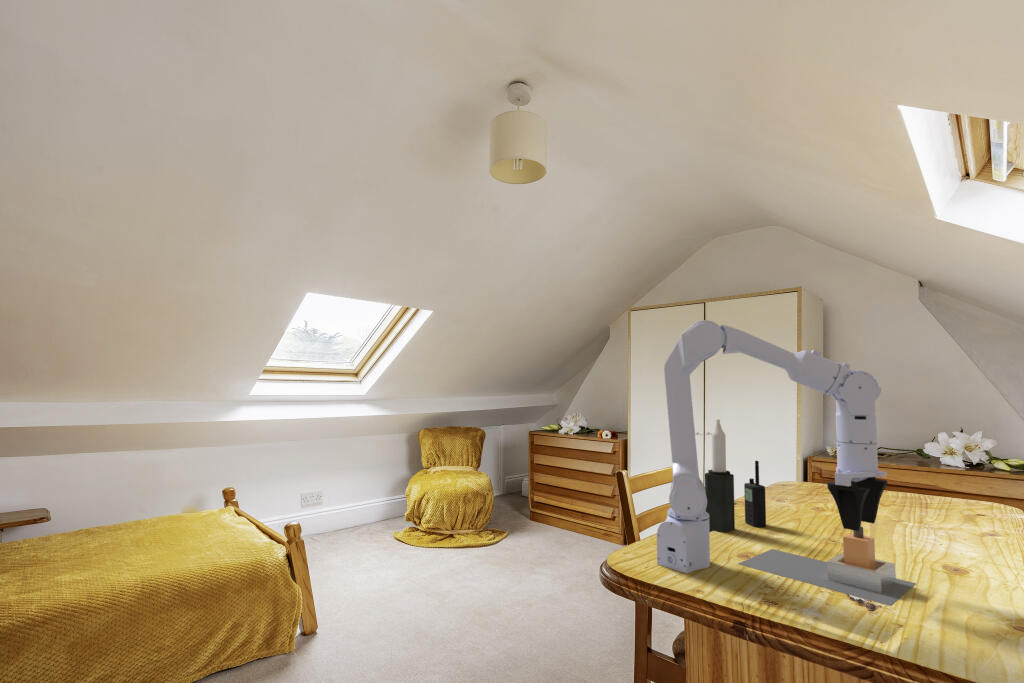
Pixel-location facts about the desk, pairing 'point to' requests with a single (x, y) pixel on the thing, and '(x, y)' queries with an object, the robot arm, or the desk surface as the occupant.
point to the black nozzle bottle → (719, 486)
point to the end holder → (862, 574)
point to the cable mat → (819, 575)
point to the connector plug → (859, 549)
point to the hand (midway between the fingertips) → (859, 525)
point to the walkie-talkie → (755, 501)
